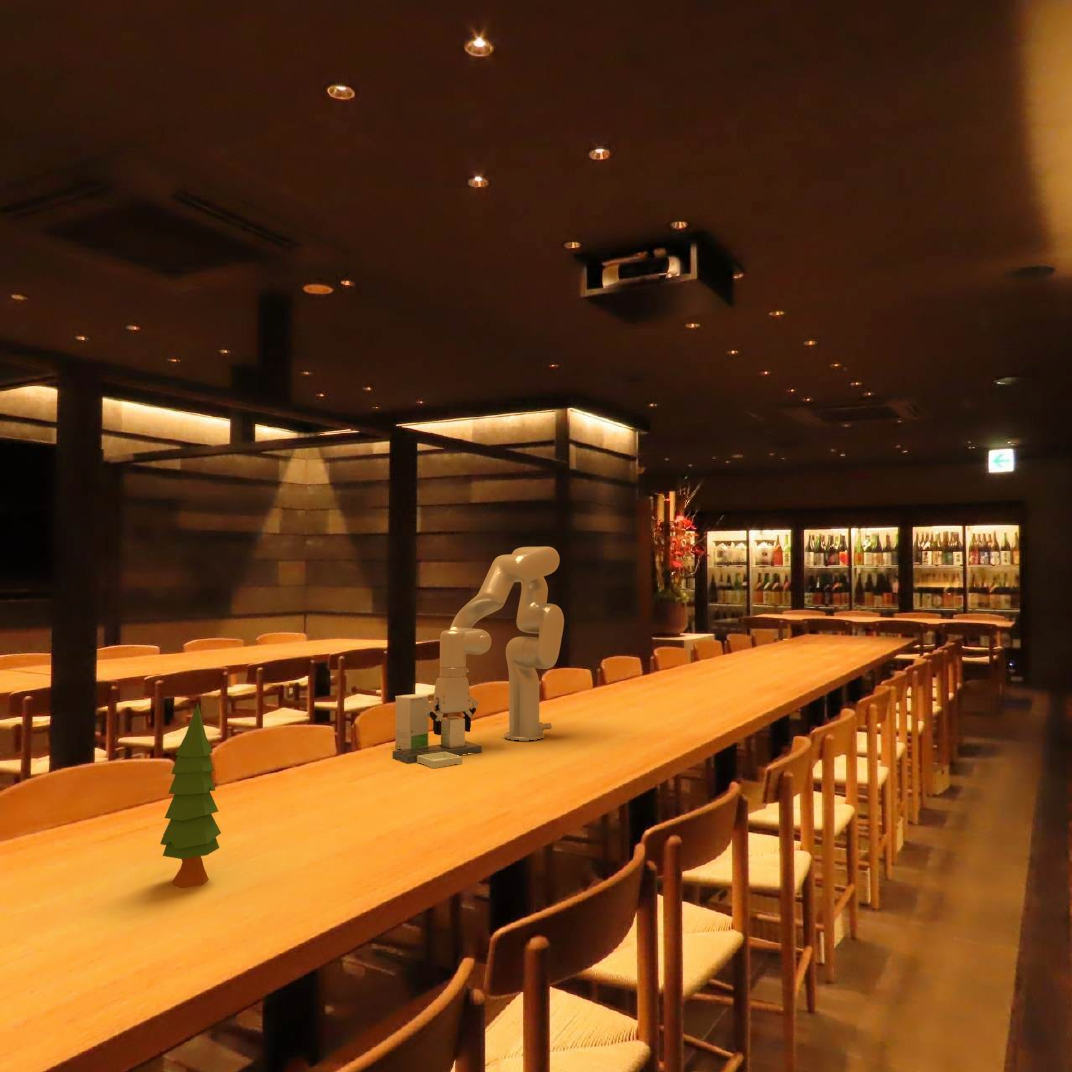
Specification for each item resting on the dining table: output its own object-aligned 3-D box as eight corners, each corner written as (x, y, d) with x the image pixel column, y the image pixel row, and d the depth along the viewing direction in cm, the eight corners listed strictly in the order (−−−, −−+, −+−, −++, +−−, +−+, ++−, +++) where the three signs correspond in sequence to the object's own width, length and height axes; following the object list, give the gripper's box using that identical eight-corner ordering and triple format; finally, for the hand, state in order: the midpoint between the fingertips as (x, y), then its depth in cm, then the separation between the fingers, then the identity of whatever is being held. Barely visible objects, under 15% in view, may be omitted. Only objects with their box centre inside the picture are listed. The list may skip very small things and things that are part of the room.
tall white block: (455, 750, 261) (455, 715, 261) (464, 753, 257) (464, 717, 257) (440, 752, 258) (440, 717, 258) (449, 755, 254) (449, 719, 254)
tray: (445, 758, 250) (445, 751, 250) (462, 764, 243) (462, 757, 243) (416, 762, 245) (416, 755, 245) (433, 768, 238) (433, 761, 238)
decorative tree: (226, 872, 156) (228, 699, 158) (209, 891, 147) (211, 707, 148) (170, 872, 156) (172, 700, 157) (149, 892, 147) (151, 708, 148)
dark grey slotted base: (465, 747, 265) (465, 740, 265) (481, 752, 258) (481, 745, 258) (392, 758, 251) (392, 750, 251) (407, 763, 244) (407, 755, 244)
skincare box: (409, 751, 259) (409, 697, 260) (393, 749, 263) (393, 696, 264) (429, 747, 266) (429, 694, 267) (413, 744, 270) (414, 692, 271)
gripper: (471, 670, 266) (470, 728, 266) (420, 673, 256) (419, 734, 255) (484, 672, 260) (484, 731, 260) (433, 676, 250) (432, 737, 249)
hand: (452, 732), depth 258 cm, fingers open, 9 cm apart
